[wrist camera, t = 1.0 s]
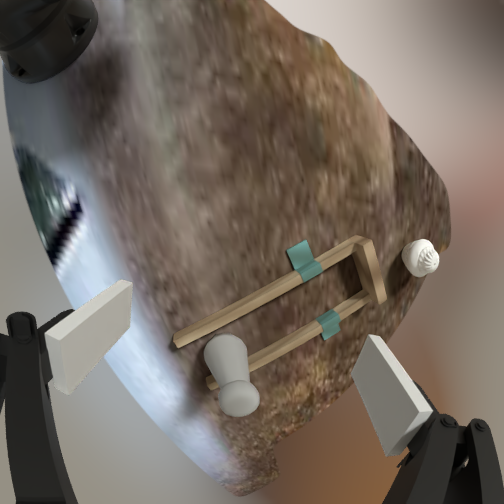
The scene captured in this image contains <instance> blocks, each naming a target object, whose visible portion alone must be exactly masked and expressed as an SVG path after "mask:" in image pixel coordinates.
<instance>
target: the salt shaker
mask: <svg viewBox="0 0 504 504" xmlns="http://www.w3.org/2000/svg"><path fill="white" fill-rule="evenodd" d="M204 359H205V362H206V364H207V366H208V367H209V369H210V371H211V373H212V375H213V376H214V378H215V380H216V382H217V383H218V385H219V387H220V389H221V391H220V393H219V395H218V396H219V404H220V407H221V409H222V410H223V411H224V412H225V413H226V414H228V415H230V416H236V417H242V416H245V415H248V414H250V413H251V412H253V411H254V410H256V408H257V407H258V405H259V393H258V391H257V389H256V388H255V387H254V385H253V384H252V383H250V378H249V368H248V357H247V348H246V346H245V345H244V343H243V342H242V340H241V339H240V338H238V337H236V336H234V335H232V334H230V333H221V334H215V336H214V337H213V338H212V339H211V340H210V341H209V342H208V343H207V345H206V347H205V349H204Z"/></svg>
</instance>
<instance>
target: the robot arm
mask: <svg viewBox="0 0 504 504" xmlns="http://www.w3.org/2000/svg"><path fill="white" fill-rule="evenodd" d="M97 24H98V13H97V10H96V8H95V6H94V3H93V2H92V0H0V56H1V58H2V60H3V62H4V65H5V67H6V69H7V71H8V72H9V74H10V75H11V76H13V77H14V78H16V79H18V80H19V81H21V82H24V83H36V82H40V81H43V80H46V79H48V78H50V77H52V76H54V75H56V74H57V73H59V72H60V71H62V70H63V69H65V68H66V67H67V66H68V65H70V64H71V63H72V62H73V61H74V60H75V59H76V58H77V57H78V56H79V55H80V54H81V53H82V52H83V50H84V49H85V48H86V47H87V45H88V44H89V42H90V41H91V39H92V37H93V35H94V33H95V31H96V28H97ZM132 288H133V283H132V282H128V281H125V280H122V279H120V280H119V281H117V282H116V283H114V284H113V285H111V286H110V287H109V288H107V289H106V290H104V291H103V292H101V293H100V294H98V295H97V296H95V297H94V298H93V299H91V300H90V301H88V302H87V303H85V304H84V305H83V306H81V307H80V308H78V309H77V310H73V309H70V310H67V311H63V312H61V313H60V314H58V315H57V316H56V317H54V318H53V319H51V320H50V321H48V322H47V323H45V324H44V325H42V326H41V327H40V328H38V329H37V324H36V319H35V317H34V316H33V315H32V314H30V313H28V312H15V313H13V314H11V315H9V316H8V317H7V319H6V323H7V328H8V334H9V336H7V335H4V334H1V333H0V413H1V409H2V406H3V402H4V399H5V423H6V439H7V449H8V458H9V465H10V471H11V477H12V482H13V487H14V492H15V496H16V504H78V502H77V499H76V497H75V494H74V492H73V489H72V486H71V483H70V480H69V477H68V474H67V471H66V467H65V464H64V460H63V457H62V453H61V449H60V445H59V441H58V437H57V433H56V427H55V423H54V418H53V412H52V406H51V400H50V393H49V387H48V382H49V381H50V380H51V379H52V378H53V381H54V386H55V389H57V390H59V391H61V392H63V393H65V394H67V395H68V396H69V395H71V393H72V392H73V391H74V390H75V389H76V387H77V386H78V385H79V384H80V383H81V382H82V380H83V379H84V378H85V377H86V376H87V375H88V374H89V372H90V371H91V370H92V369H93V368H94V366H96V364H97V363H98V362H99V361H100V360H101V359H102V358H103V356H104V355H105V354H106V353H107V352H108V351H109V350H110V349H111V347H112V346H113V345H114V344H115V343H116V342H117V341H118V340H119V339H120V337H121V336H122V335H123V334H124V333H125V332H126V331H127V330H128V329H129V328H130V318H131V301H132ZM351 375H352V378H353V380H354V382H355V384H356V387H357V389H358V391H359V393H360V396H361V398H362V400H363V402H364V405H365V407H366V409H367V412H368V414H369V416H370V419H371V421H372V424H373V426H374V428H375V431H376V433H377V435H378V438H379V440H380V443H381V445H382V448H383V450H384V453H385V455H386V456H395V455H400V454H401V453H402V452H403V450H404V449H405V448H406V447H408V449H409V451H410V452H409V453H408V454H407V455H406V457H405V458H404V459H403V460H402V461H401V462H400V463H399V464H398V466H397V467H398V468H399V467H400V465H401V468H400V470H399V472H398V474H397V476H396V478H395V480H394V482H393V484H392V486H391V488H390V490H389V492H388V494H387V496H386V497H385V499H384V501H383V503H382V504H504V487H503V481H502V475H501V470H500V466H499V461H498V457H497V453H496V449H495V445H494V441H493V437H492V434H491V430H490V428H489V426H488V425H487V423H486V422H485V421H484V420H480V419H472V420H471V422H470V423H469V424H468V426H467V427H466V426H459V425H458V423H457V421H456V420H455V419H454V418H453V417H451V416H450V415H447V414H439V412H438V411H437V409H436V408H435V407H434V405H433V404H432V402H431V401H430V399H428V397H427V395H426V394H424V393H425V392H424V391H423V390H422V388H421V387H420V386H419V385H418V384H417V383H416V382H414V381H413V380H411V378H410V377H409V376H408V374H407V373H406V371H405V370H404V369H403V367H402V366H401V364H400V363H399V362H398V360H397V359H396V358H395V356H394V355H393V354H392V352H391V351H390V350H389V348H388V347H387V345H386V344H385V343H384V341H383V340H382V339H381V337H380V336H375V335H368V337H367V339H366V341H365V344H364V346H363V348H362V351H361V353H360V355H359V357H358V360H357V362H356V364H355V366H354V368H353V370H352V372H351ZM467 459H469V460H468V464H467V465H466V467H465V465H464V463H465V462H466V461H467Z"/></svg>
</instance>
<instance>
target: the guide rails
mask: <svg viewBox="0 0 504 504" xmlns="http://www.w3.org/2000/svg"><path fill="white" fill-rule="evenodd" d="M286 251H287V253H288V256H289V258H290V260H291V263H292V265H293V267H294V269H295V270H294V271H292V272H290V273H288V274H287V275H285V276H283V277H281V278H279V279H278V280H276V281H274V282H272V283H270V284H268V285H267V286H265V287H263V288H261V289H259V290H257V291H255V292H254V293H252V294H250V295H248V296H246V297H244V298H242V299H241V300H239V301H237V302H235V303H233V304H231V305H229V306H227V307H225V308H223V309H222V310H220V311H218V312H216V313H214V314H212V315H210V316H208V317H206V318H204V319H202V320H200V321H198V322H196V323H194V324H192V325H190V326H188V327H186V328H184V329H182V330H180V331H178V332H176V333H174V336H173V342H174V343H175V344H176V346H177V347H178V348H180V347H182V346H184V345H186V344H188V343H190V342H192V341H194V340H196V339H198V338H200V337H202V336H204V335H206V334H208V333H210V332H212V331H214V330H216V329H218V328H220V327H222V326H224V325H225V324H227V323H229V322H231V321H233V320H235V319H237V318H239V317H241V316H243V315H245V314H246V313H248V312H250V311H252V310H254V309H256V308H258V307H259V306H261V305H263V304H265V303H267V302H269V301H270V300H272V299H274V298H276V297H278V296H280V295H281V294H283V293H285V292H287V291H288V290H290V289H292V288H294V287H296V286H297V285H299V284H301V283H303V282H306V281H307V280H309V279H311V278H313V277H314V276H316V275H318V274H320V273H321V272H323V270H325V269H327V268H328V267H330V266H332V265H333V264H335V263H337V262H339V261H340V260H342V259H343V258H345V257H347V256H348V255H350V254H352V256H353V259H354V262H355V265H356V269H357V272H358V275H359V279H360V282H361V285H362V289H363V290H361V291H360V292H358V293H357V294H355V295H354V296H352V297H350V298H349V299H347V300H346V301H344V302H343V303H341V304H340V305H338V306H336V307H335V308H333V309H331V310H329V311H328V312H326V313H324V314H323V315H321V316H320V317H318V318H316V319H315V320H313V321H312V322H310V323H308V324H307V325H305V326H303V327H301V328H300V329H298V330H296V331H295V332H293V333H291V334H289V335H287V336H286V337H284V338H282V339H280V340H278V341H277V342H275V343H273V344H271V345H269V346H267V347H266V348H264V349H262V350H260V351H258V352H256V353H254V354H252V355H250V356H248V368H249V372H251V371H253V370H255V369H257V368H259V367H261V366H263V365H265V364H267V363H269V362H270V361H272V360H274V359H276V358H278V357H280V356H282V355H283V354H285V353H287V352H289V351H291V350H292V349H294V348H296V347H298V346H299V345H301V344H303V343H305V342H306V341H308V340H310V339H311V338H313V337H315V336H316V335H318V334H320V333H321V334H322V336H323V339H324V340H326V339H328V338H329V337H331V336H332V335H334V334H336V333H337V332H339V331H340V328H339V325H338V323H339V322H340V321H341V320H342V319H344V318H345V317H347V316H348V315H350V314H351V313H353V312H355V311H356V310H358V309H359V308H361V307H362V306H363V305H365V304H366V303H368V302H369V301H371V300H372V301H374V302H376V303H377V304H381V303H382V302H384V301H385V300H386V299H387V297H386V292H385V288H384V284H383V280H382V276H381V272H380V268H379V264H378V260H377V257H376V253H375V250H374V246H373V243H372V240H370V239H367V238H364V237H361V236H357V235H355V236H353V237H351V238H350V239H348V240H346V241H345V242H343V243H341V244H339V245H338V246H336V247H334V248H332V249H331V250H329V251H327V252H326V253H324V254H322V255H320V256H319V257H317V258H315V259H314V258H313V256H312V253H311V251H310V248H309V246H308V243H307V241H306V240H304V241H302V242H300V243H298V244H296V245H295V246H293V247H291V248H289V249H287V250H286ZM206 383H207V386H208V387H209V389H210V390H211V391H212V390H214V389H216V388H218V387H219V385H218V383H217V382H216V380H215V378H214V376H213V375H210V376H208V377H206Z"/></svg>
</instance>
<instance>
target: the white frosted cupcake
mask: <svg viewBox="0 0 504 504" xmlns="http://www.w3.org/2000/svg"><path fill="white" fill-rule="evenodd" d="M401 256H402V260H403V262H404V264H405V266H406V267H407V269H408V271H410V272H411V274H413V275H414V276H417V277H422V276H424V275H426V274H427V273H432V272H434V271H435V270H436V269H437V267H438V265H439V257H438V253H436V251H435V250H434V247H433V245H432V244H431V242H430V241H428V240H425V239H420V240H416V241H414V242H412V243H409V244H407V245H406V246H405V247H404V248H403V250H402V255H401Z"/></svg>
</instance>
